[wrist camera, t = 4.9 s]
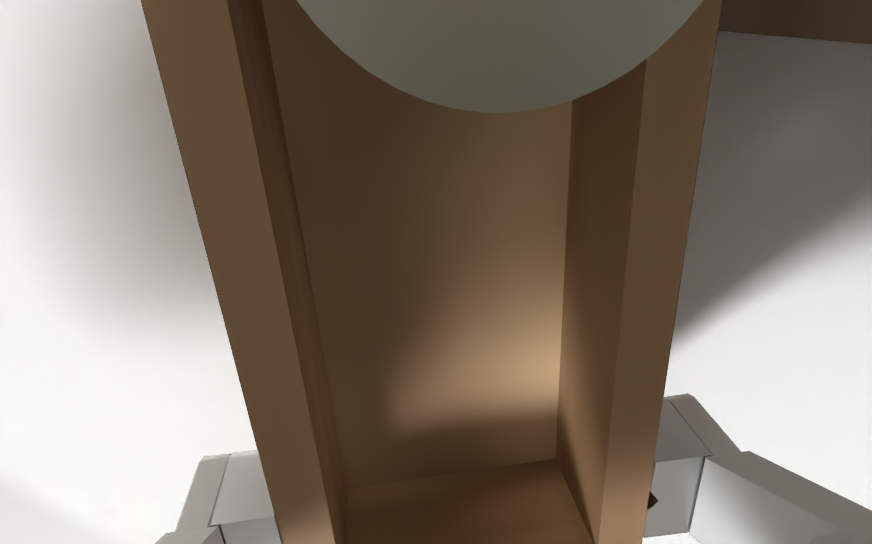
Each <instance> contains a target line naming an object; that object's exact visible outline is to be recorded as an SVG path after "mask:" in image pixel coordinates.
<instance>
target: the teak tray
mask: <svg viewBox="0 0 872 544" xmlns="http://www.w3.org/2000/svg"><path fill="white" fill-rule="evenodd" d="M141 3H142V7H143V11H144V14H145V18H146V22H147V26H148V30H149V34H150V38H151V41H152V45H153V49H154V53H155V57H156V61H157V64H158V68H159V72H160V76H161V80H162V84H163V88H164V91H165V95H166V99H167V103H168V107H169V111H170V115H171V118H172V122H173V126H174V130H175V134H176V138H177V141H178V145H179V149H180V153H181V157H182V161H183V165H184V168H185V172H186V176H187V180H188V184H189V188H190V191H191V195H192V199H193V203H194V207H195V211H196V215H197V218H198V222H199V226H200V230H201V234H202V238H203V241H204V245H205V249H206V253H207V257H208V261H209V265H210V268H211V272H212V276H213V280H214V284H215V288H216V292H217V295H218V299H219V303H220V307H221V311H222V315H223V318H224V322H225V326H226V330H227V334H228V338H229V342H230V345H231V349H232V353H233V357H234V361H235V365H236V368H237V372H238V376H239V380H240V384H241V388H242V392H243V395H244V399H245V403H246V407H247V411H248V415H249V419H250V422H251V426H252V430H253V434H254V438H255V442H256V445H257V449H258V453H259V457H260V461H261V465H262V469H263V472H264V476H265V480H266V484H267V488H268V492H269V495H270V499H271V503H272V507H273V511H274V515H275V519H276V522H277V526H278V530H279V533H280V537H281V541H282V544H642V538H643V532H644V524H645V517H646V510H647V505H648V498H649V491H650V484H651V478H652V471H653V464H654V457H655V451H656V444H657V437H658V430H659V424H660V417H661V410H662V403H663V397H664V390H665V383H666V376H667V369H668V363H669V356H670V349H671V342H672V336H673V329H674V322H675V315H676V309H677V302H678V295H679V288H680V282H681V275H682V268H683V261H684V255H685V248H686V241H687V234H688V228H689V221H690V214H691V207H692V201H693V194H694V187H695V180H696V174H697V167H698V160H699V153H700V147H701V140H702V133H703V126H704V120H705V113H706V106H707V99H708V93H709V86H710V79H711V72H712V65H713V59H714V52H715V45H716V38H717V32H718V25H719V18H720V11H721V5H722V0H141Z"/></svg>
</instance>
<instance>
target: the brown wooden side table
mask: <svg viewBox="0 0 872 544" xmlns="http://www.w3.org/2000/svg"><path fill="white" fill-rule="evenodd" d="M718 31H727V32H739V33H750V34H761V35H772V36H784V37H795V38H806V39H817V40H829V41H840V42H851V43H862V44H872V0H722V5H721V11H720V18H719V25H718Z"/></svg>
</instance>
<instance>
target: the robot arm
mask: <svg viewBox="0 0 872 544" xmlns="http://www.w3.org/2000/svg"><path fill="white" fill-rule="evenodd" d="M686 532H689V535H690V536H692V537H693V538H694V539H695V540H697V541H698V542H699V543H701V544H872V511H871V510H869V509H867V508H865V507H863V506H861V505H859V504H857V503H855V502H853V501H851V500H849V499H846V498H844V497H842V496H840V495H838V494H836V493H834V492H832V491H830V490H828V489H826V488H824V487H822V486H820V485H818V484H816V483H814V482H812V481H810V480H808V479H805V478H803V477H801V476H799V475H797V474H795V473H793V472H791V471H789V470H787V469H785V468H783V467H781V466H779V465H777V464H775V463H773V462H771V461H769V460H767V459H764V458H762V457H760V456H758V455H756V454H754V453H752V452H750V451H746V452H741V451H740V450H739V448H738V447H737V446H736V445H735V444H734V443H733V441H732V440H731V439H730V438H729V437H728V436H727V435H726V433H725V432H724V431H723V430H722V429H721V428H720V426H719V425H718V424H717V423H716V422H715V421H714V419H713V418H712V417H711V416H710V415H709V414H708V412H707V411H706V410H705V409H704V408H703V407H702V405H701V404H700V403H699V402H698V401H697V400H696V398H695V397H694V396H692V395H690V394H681V395H674V396H668V397H663V403H662V410H661V417H660V424H659V430H658V437H657V444H656V451H655V457H654V464H653V471H652V478H651V484H650V491H649V498H648V505H647V510H646V517H645V524H644V532H643V537H644V538H646V537H654V536H662V535H670V534H678V533H686ZM155 544H282V541H281V537H280V533H279V530H278V526H277V522H276V519H275V515H274V511H273V507H272V503H271V499H270V495H269V492H268V488H267V484H266V480H265V476H264V472H263V469H262V465H261V461H260V457H259V453H258V450H253V451H244V452H235V453H232V454H221V455H212V456H204V457H203V458H202V460H201V461H200V462H199V463H198V466H197V469H196V472H195V475H194V478H193V481H192V484H191V486H190V489H189V492H188V495H187V498H186V501H185V504H184V507H183V510H182V513H181V516H180V518H179V521H178V524H177V527H176V530H175V532H171V533H166V534H165V535H164V536H163V537H162V538H160V539H159V540H158V541H157V542H156V543H155Z"/></svg>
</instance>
